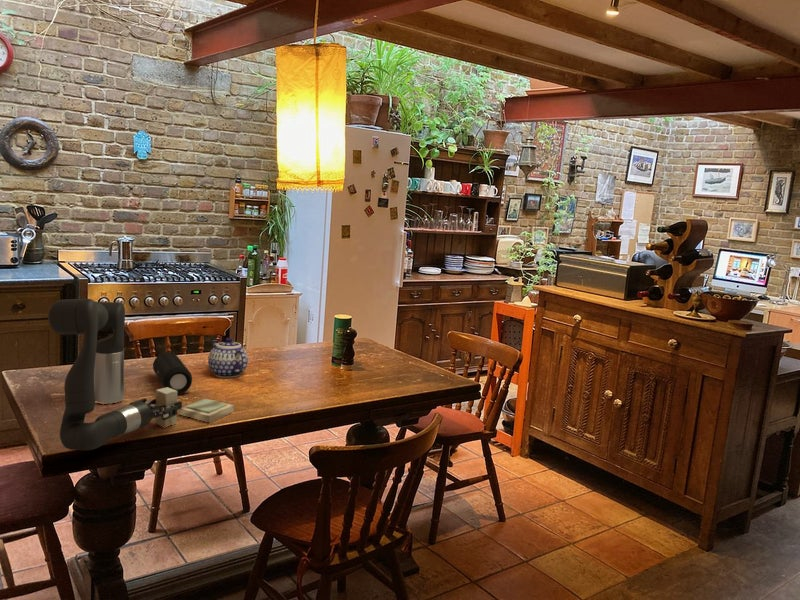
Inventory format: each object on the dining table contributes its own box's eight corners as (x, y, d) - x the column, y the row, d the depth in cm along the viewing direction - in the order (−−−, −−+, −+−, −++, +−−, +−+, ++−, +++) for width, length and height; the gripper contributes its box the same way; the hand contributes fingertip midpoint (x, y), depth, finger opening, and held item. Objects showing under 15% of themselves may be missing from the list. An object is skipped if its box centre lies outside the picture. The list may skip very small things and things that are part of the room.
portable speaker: (151, 377, 243) (151, 351, 241) (178, 374, 248) (179, 349, 246) (164, 398, 221) (164, 370, 219) (193, 395, 226) (194, 367, 224)
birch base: (179, 415, 206) (179, 406, 205) (204, 405, 217) (204, 396, 216) (209, 423, 201) (209, 414, 201) (233, 412, 212) (233, 403, 212)
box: (154, 424, 197) (155, 389, 195) (166, 420, 201) (167, 386, 199) (165, 428, 194) (165, 393, 193) (177, 424, 198) (178, 390, 196)
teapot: (260, 380, 248) (261, 343, 246) (223, 385, 239) (225, 347, 236) (230, 363, 267) (232, 329, 264) (196, 368, 257) (197, 332, 255)
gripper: (149, 410, 180) (190, 394, 195) (111, 400, 186) (153, 386, 201) (149, 435, 181) (189, 418, 197) (111, 425, 187) (153, 409, 202)
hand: (171, 402), depth 199 cm, fingers open, 7 cm apart
